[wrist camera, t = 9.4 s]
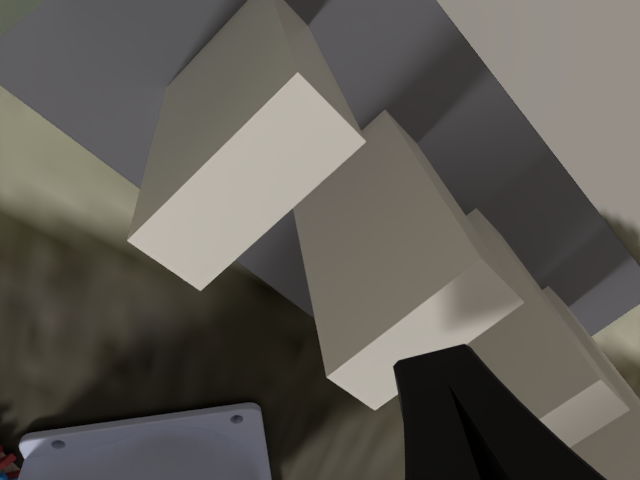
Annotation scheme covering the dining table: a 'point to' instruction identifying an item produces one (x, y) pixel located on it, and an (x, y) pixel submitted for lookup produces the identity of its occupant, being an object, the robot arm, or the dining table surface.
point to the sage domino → (15, 12)
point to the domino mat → (365, 104)
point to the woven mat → (8, 466)
